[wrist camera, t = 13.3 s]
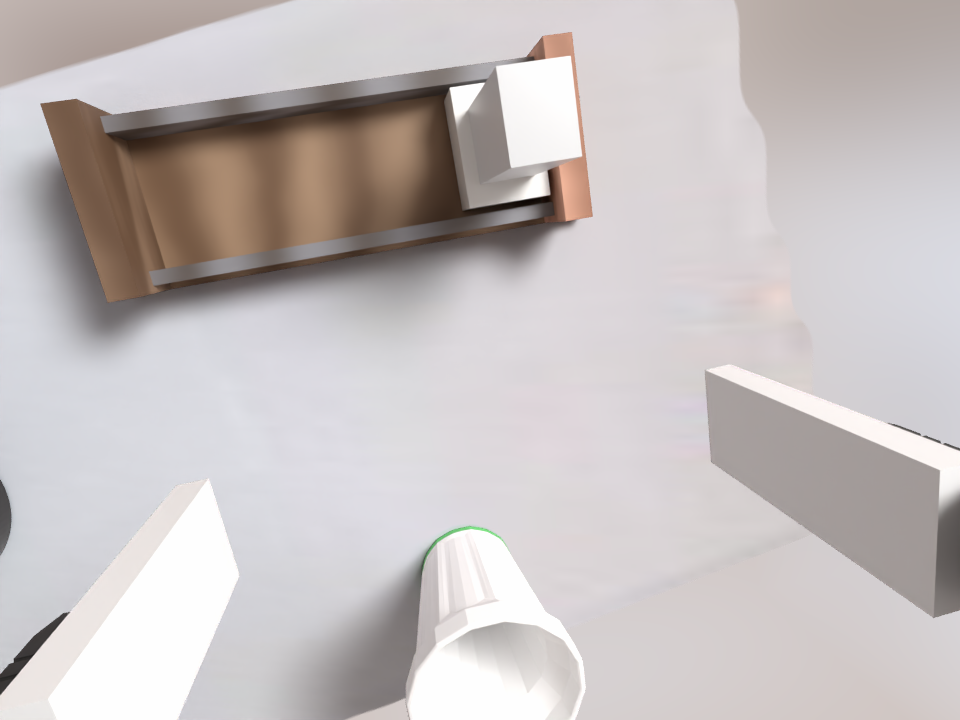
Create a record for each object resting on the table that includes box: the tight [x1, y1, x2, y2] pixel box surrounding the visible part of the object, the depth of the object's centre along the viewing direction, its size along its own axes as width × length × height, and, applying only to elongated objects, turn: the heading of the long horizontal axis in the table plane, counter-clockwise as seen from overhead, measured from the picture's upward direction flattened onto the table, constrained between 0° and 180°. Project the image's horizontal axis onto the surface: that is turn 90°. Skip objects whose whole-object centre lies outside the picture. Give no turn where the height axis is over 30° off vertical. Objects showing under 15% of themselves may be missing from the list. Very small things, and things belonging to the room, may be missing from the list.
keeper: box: [444, 56, 582, 211], centre depth 36 cm, size 6×8×14 cm
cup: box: [406, 526, 586, 720], centre depth 45 cm, size 12×12×15 cm
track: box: [41, 32, 593, 303], centre depth 39 cm, size 36×12×7 cm, turn 100°
